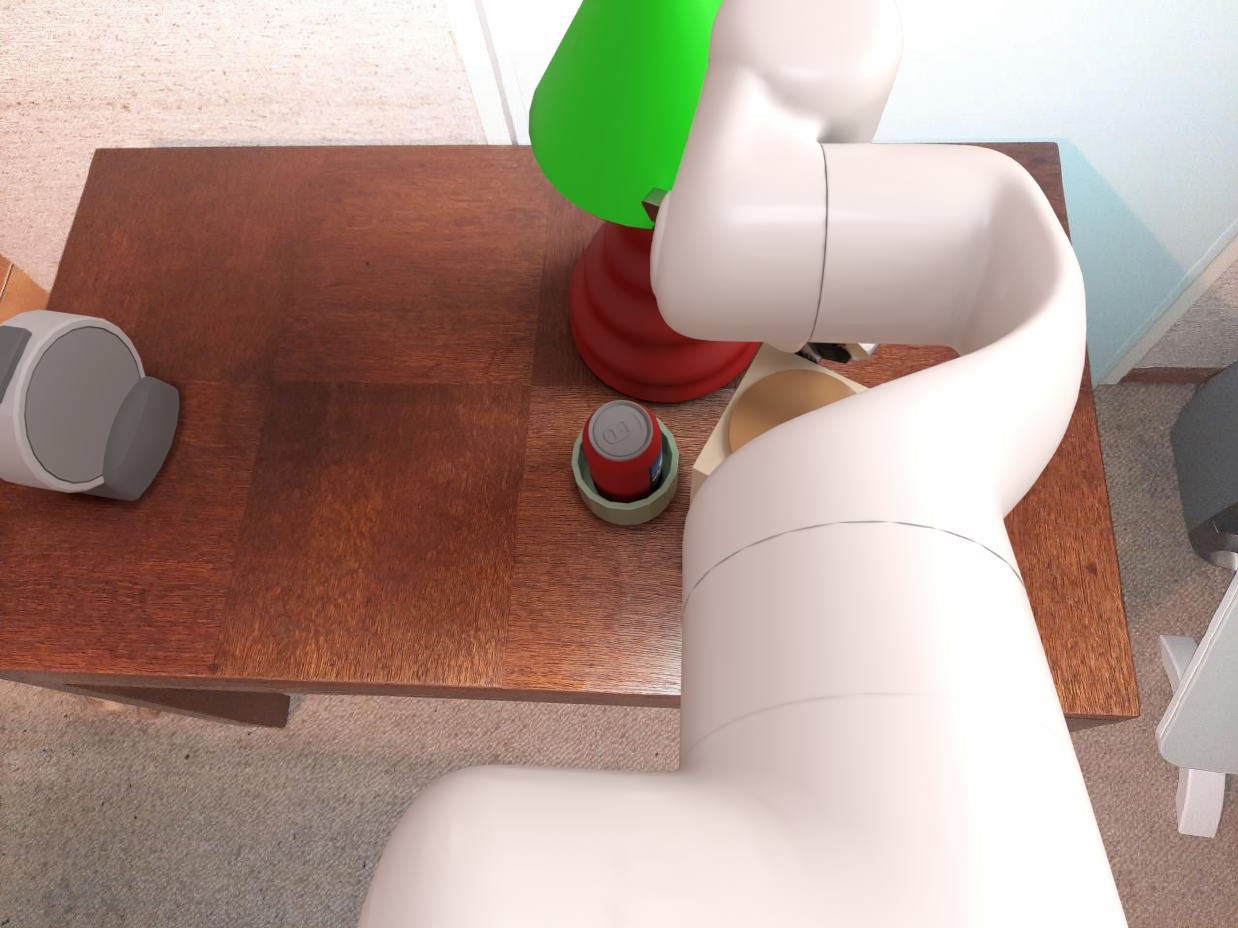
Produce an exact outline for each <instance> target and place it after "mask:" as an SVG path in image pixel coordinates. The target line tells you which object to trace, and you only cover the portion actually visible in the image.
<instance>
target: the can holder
mask: <svg viewBox="0 0 1238 928" xmlns="http://www.w3.org/2000/svg"><path fill="white" fill-rule="evenodd" d="M655 418H656V419H657V421H658V423H659V426H660V430H661V441H662V480H661V483H660V486H659V488H658V490H657V491H656V492H654V493H653V494H652V495H650V496H649V497H648V498H646V499H643V500H639V501H636V502H632V503H628V504H627V503H618V502H609V501H608V500H606V499H604V498H603V497H602V496H601V495H600V494H599V493H598V491H597V490H596V488H595V486H594V483H593V480H592V477H591V474H590V470H589V467H588V463H587V460H586V456H585V452H584V448H583V444H582V433H583V429H581V431H580V433H579V435H578V436H577V437H576V439H575V441H574V443H573V448H572V453H571V460H570V461H571V462H570V464H571V468H572V471H573V475H574V476H573V477H574V479H575V483H576V485H577V488H578V491H579V495H580V497H581V499H582V501H583V502H584V503H585V505H586V506H587V508H588V509H589V510H590V511H591V512H592V513H593V514H594V515H595V516H597V517H598V518H600V519H602V520H604V521H606V522H607V523H611V524H614V525H619V526H636V525H641V524H643V523H647V522H649V521H651V520H653V519H654V518H656V517H658V516H659V515H660V514H661V513H663V512H664V511H665V510H666V508H667V507H668V506H669V505H670V503H671V502H672V500H673V498H674V496H675V494H676V491H677V488H678V482H679V481H678V480H679V471H680V470H679V466H680V465H679V464H680V461H679V460H680V456H679V455H680V453H679V450H678V447H677V444H676V440H675V437H674V435H673V433H672V432H671V430H669V429H668V427H667V426H666V425H665V424H664V423H663V422H662V420H661V419H660V418H657V417H655Z"/></svg>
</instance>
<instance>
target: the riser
mask: <svg viewBox="0 0 1238 928" xmlns="http://www.w3.org/2000/svg"><path fill="white" fill-rule="evenodd" d="M792 369H808V370H814V371H819V372H822V373H826V374H828V375H831V376H833V377H835V378H837V379H839V380H841V381H842V382H844V383H845V384H847V385H848V386H849V387H851V388H852V389H853V390H854V391H855V392H856V393H860V392H863V391H865V390H868V389H870V388H869V387H867V386H864V385H862V384H860V383H858V382H856V381H854V380H852V379H849V378H847V377H846V376H843V375H841V374H839V373H837V372H835V371H833V370H830V369H828V368H826V367H824V366H821V365H820V364H815V363H813V362H811V361H809V360H807V359H805V358H803V357H800V356H798V355H796V354H794V353H788V352H783V351H781V350H778V349H776V348H774V347H773V346H771V345H769V344H768V343H766V342H762V345H761V346H760V348H759V350H757V352H756V355H755V357H753V359H752V362H751V364H750V365H749V367H748V368H747V370H746V372H745V374H744V375H743V378H742V379H741V381H740V383H739V385H738V386H737V388H736V390H735V391H734V393H733V395H732V397H731V399H730V400H729V402H728V404H727V406H726V407H725V409H724V411H723V413H721V416H720V418H719V419H718V421H717V423H716V425H715V426H714V428H713V430H712V432H711V434H710V435H709V437H708V439H707V440H706V442H705V444H704V446H703V447H702V449H701V451H700V453H699V454H698V456H697V458H696V460H695V461H694V463H693V465H692V467H691V481H690V494H689V495H690V496H689V507H690V506H691V504H692V501H693V499H694V496H695V495H696V493H697V492H698V490H699V489H700V487H701V486H702V484H703V483H704V481H705V480H706V478H707V477H708V476H709V475H710V474H711V473H712V471H713V470H714V469H715V468H716V467H717V466H718V465H719V464H720V463H721V462H722V461H723V460H725V459H726V458H727V457H728V456H730V455H731V451H730V447H729V425H730V419H731V416H732V413H733V410H734V408H735V406H736V404H737V402H738V401H739V399H740V398H741V396H742V395H743V394H744V393H745V392H746V391H747V389H749V388H750V387H751V386H752V385H753V384H754V383H756V382H757V381H759V380H761V379H762V378H764V377H766V376H768V375H771V374H774V373H776V372H780V371H785V370H792Z"/></svg>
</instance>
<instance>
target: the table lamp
mask: <svg viewBox="0 0 1238 928" xmlns="http://www.w3.org/2000/svg"><path fill="white" fill-rule="evenodd" d="M722 1H723V0H582V2H581V3H580V5H579V7H578V9H577V11H576V13H575V15H574V17H573V18H572V20H571V22H570V24H569V26H568V28H567V30H566V32H565V33H564V35H563V37H562V39H561V41H560V43H559V44H558V46H557V48H556V50H555V51H554V53H553V55H552V57H551V59H550V61H549V63H548V65H547V67H546V68H545V71H544V72H543V74H542V76H541V78H540V80H539V82H538V84H537V85H536V87H535V89H534V92H533V95H532V100H531V103H530V107H529V110H528V136H529V141H530V145H531V150H532V154H533V156H534V158H535V160H536V162H537V164H538V166H539V168H540V170H541V171H542V172H541V173H542V174H543V175H544V177H545V178H546V179H547V180H548V181H549V182H550V184H551V185H552V186H553V187H554V188H555V190H556V191H557V192H558V193H559V194H561V195H562V196H563V197H564V198H566V199H567V200H568V201H569V202H570V203H572V204H573V205H575V207H577V208H579V209H580V210H582V211H584V212H586V213H588V214H590V215H592V216H593V217H594V216H595V217H596V218H598V219H600V220H602V221H604V222H603V223H602V224H601V225H600V227H598V229H597V230H596V232H595V233H594V234H593V235H592V238H591V240H590V242H589V244H588V246H587V247H586V249H585V250H583V253H581V255H580V257H579V259H578V261H577V263H576V264H575V267H574V270H573V271H572V274H571V279H570V283H569V286H568V308H569V313H570V330H571V334H572V339H573V342H574V345H575V347H576V348H577V350H578V353H579V355H580V357H581V359H582V360H583V361H584V363H585V364H586V366H587V367H588V368H589V370H590V371H591V372H592V374H594V375H595V376H596V377H597V378H599V380H601V382H603V383H604V384H605V385H606V386H608V387H611V388H612V389H614V390H616V391H618V392H620V393H621V394H624V395H627V396H631V397H633V398H636V399H639V400H644V401H650V402H658V403H676V402H677V403H679V402H680V403H681V402H685V401H688V400H693V399H694V400H695V399H699V398H701V397H703V396H706V395H709V394H711V393H713V392H715V391H717V390H719V389H721V388H722V387H724V386H726V385H727V384H728V383H731V381H733V380H735V379H736V378H737V377H738V376H739V375H740V374H741V373H742V372H743V371H744V370H745V369H746V368H747V367H748V366H749V364H750V363H751V361H752V360H753V359H754V356H756V355H755V354H757V352H758V349H759V347H760V344H761V342H737V341H709V340H700V339H694V338H690V337H687V336H684V335H682V334H680V333H678V332H676V331H674V330H673V329H672V328H671V327H669V326H668V324H667V323H666V322H665V321H664V319H663V317H662V315H661V313H660V311H659V308H658V304H657V299H656V296H655V295H654V293H653V290H652V286H651V279H650V255H651V246H652V241H653V235H654V231H653V229H652V228H653V226H654V225H655V223H654V222H653V221H651V220H650V218H649V217H648V215H647V213H646V211H645V209H644V207H643V206H642V203H641V201H642V200H643V199H644V198H645V197H646V195H647V194H648V193H649V192H650V191H651V190H652V188H654V187H656V188H659V189H662V190H665V191H668V192H669V191H671V190H672V188H673V185H674V182H675V179H676V175H677V172H678V169H679V166H680V162H681V159H682V156H683V153H684V149H685V146H686V141H687V137H688V135H689V132H690V129H691V125H692V122H693V118H694V115H695V111H696V108H697V104H698V100H699V96H700V92H701V88H702V84H703V80H704V76H705V72H706V69H707V64H708V51H709V43H710V35H711V29H712V24H713V21H714V18H715V16H716V13H717V11H718V9H719V6H720V4H721V3H722Z"/></svg>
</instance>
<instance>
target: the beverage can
mask: <svg viewBox="0 0 1238 928" xmlns="http://www.w3.org/2000/svg"><path fill="white" fill-rule="evenodd" d="M656 418H657V417H656V416H655V415H654V414H653V412H651V411H650V410H649V408H647V407H646V406H644V405H642V404H640V403H638V402H636V401H632V400H627V399H616V400H612V401H609V402H606V403H604V404H603V405H601V406H599V407H598V408H596V409H595V410H594V411H593V412H592V413H591V414H590V415H589V416H588V418H587V420H586V421H585V424H584V425H583V428H582V430H583V433H582V444H583V448H584V452H585V456H586V460H587V463H588V467H589V470H590V474H591V477H592V480H593V483H594V486H595V488H596V490H597V491H598V493H599V494H600V495H601V496H602V497H603V498H604V499H606V500H608V501H609V502H618V503H627V504H628V503H632V502H636V501H639V500H643V499H646V498H648V497H649V496H650V495H652V494H653V493H654V492H656V491H657V490H658V488H659V486H660V483H661V480H662V441H661V430H660V426H659V423H658V421H657V419H658V418H657V419H656Z"/></svg>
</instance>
